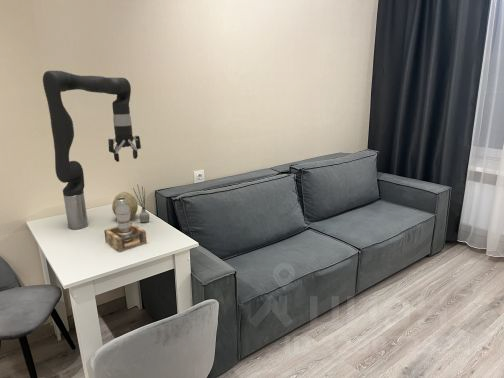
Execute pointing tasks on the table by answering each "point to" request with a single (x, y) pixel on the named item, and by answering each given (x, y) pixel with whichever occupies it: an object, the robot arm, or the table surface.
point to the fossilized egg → (130, 202)
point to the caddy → (119, 243)
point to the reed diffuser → (143, 209)
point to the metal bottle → (123, 219)
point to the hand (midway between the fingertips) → (126, 159)
